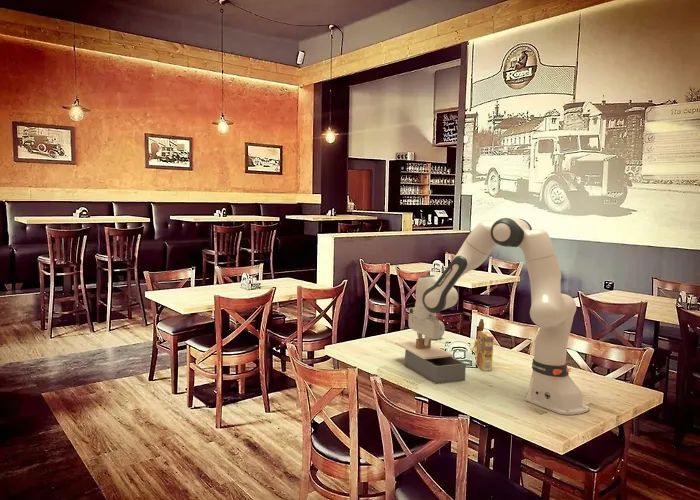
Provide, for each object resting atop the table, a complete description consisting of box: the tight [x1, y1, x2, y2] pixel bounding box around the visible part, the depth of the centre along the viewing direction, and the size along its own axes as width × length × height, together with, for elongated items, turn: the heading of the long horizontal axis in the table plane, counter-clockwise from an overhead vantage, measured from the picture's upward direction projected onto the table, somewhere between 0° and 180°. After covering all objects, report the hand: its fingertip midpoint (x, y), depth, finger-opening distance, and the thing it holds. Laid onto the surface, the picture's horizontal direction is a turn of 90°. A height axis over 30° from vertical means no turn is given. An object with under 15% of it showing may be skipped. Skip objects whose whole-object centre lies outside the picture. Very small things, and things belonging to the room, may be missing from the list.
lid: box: [394, 337, 454, 359], centre depth 232 cm, size 24×14×5 cm, turn 24°
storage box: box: [404, 349, 467, 385], centre depth 225 cm, size 24×14×7 cm, turn 24°
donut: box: [438, 320, 446, 340], centre depth 278 cm, size 10×3×10 cm, turn 123°
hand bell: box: [471, 318, 485, 354], centre depth 259 cm, size 8×8×16 cm
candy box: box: [475, 330, 495, 372], centre depth 234 cm, size 9×4×15 cm, turn 8°
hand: (423, 343), depth 232 cm, fingers closed on lid, 2 cm apart
